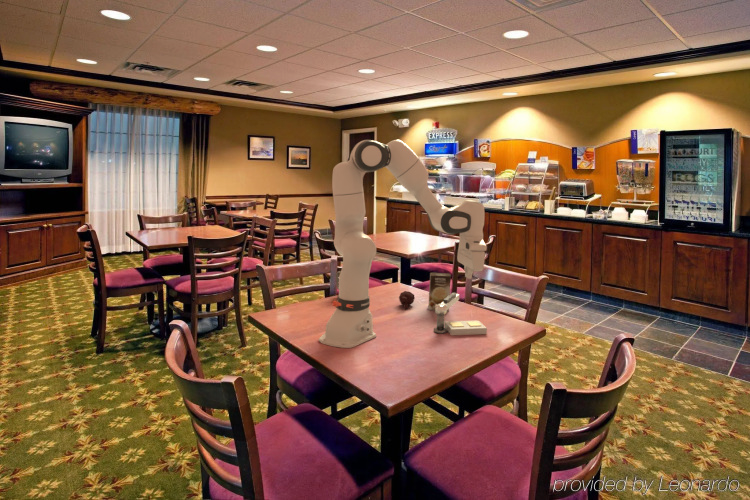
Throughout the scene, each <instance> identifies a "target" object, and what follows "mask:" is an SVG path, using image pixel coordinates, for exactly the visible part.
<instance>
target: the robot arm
mask: <svg viewBox="0 0 750 500" xmlns="http://www.w3.org/2000/svg"><path fill="white" fill-rule="evenodd" d="M383 168H385V169H387V171H388V172H390V173H391V175H392V176H393V177H394V178H395V179H396V181H397V182H398V183H399V184H400V185H402V187H403V188H404V189H405V190H406V191H408V192H409V193H410V194H412V196H413V197H414V198H415V199H416V201H417V203H419V205H420V206H421V207H422V208H423V210H424V211H425V213H426V214H427V218H428V221H429V224H430V226H431V228H432V229H433V230H434V231H436V232H440V233H444V234H447V235H456V234H459V238H458V239H459V241H458V249H457V256H456V257H457V258H456V260H457V262H458V263H460V264H462V265H463V266H464V267H463V268H464V269H463V270H464V278H466V279H468V280H472V278H473V274H474V272H482V271H483V270H484V267H485V261H486V260H485V258H486V251H487V249H488V246H487V244H486V242H485V241H484V231H483V229H484V226H485V214H486V213H485V206H484V204H483V203H482V202H480V201H477V200H472V199H464V200H462V202H461V203H459V204H457V205H455V206H451V207H447V206H444V205H443V204H442V203H441V202H439V200H438V199H437V198H436V196H435V195H434V193H433V192H432V191H431V189H430V188H429V185H428V180H429V171H428V169H427V168H426V166H425V164H424V163H423V161H422V160H421V159H420V157H419V156H418V155H417V154H416V153H415V152H414V150H413V149H412V148H410V146H409V145H407V143H405V142H403V141H402V140H401V139H393V140H391V141H389V142H388V143H386V144H385V143H381V142H379V141H377V140H373V139H372V140H371V139H364V140H361V141H359V142H358V143H356V144H355V145H354V146H353V148H352V149H351V151H350V155H348V159H347V161H342V162H339V163H337V164H335V166H334V167H333V170H332V176H331V177H332V178H331V179H332V180H331V182H332V183H331V184H332V185H331V186H332V200H333V206H334V207H333V208H334V216H335V221H334V222H335V223H334V224H335V225H334V239H333V245H334V248H335V251H336V252H337V253H338V255H340V256H342V265H341V266H342V267H341V270H340V272H341V274H340V275H339V274H338V278H339V290H338V296H337V300H333V301H332V306H333V307H336V308H335V310H334V312H333V313H332V314H331V316H330V318H329V319H328V321H327V322H326V324H325V332H324V333H323V334H322V335H321V336H320V337H319V338H318V342H320V343H321V344H323V345H326V346H331V347H335V348H342V349H350V348H351V349H352V348H354V347H357V346H358V345H361V344H363V343H365V342H368V341H370V340H371V339H374V338H376V337H377V333H376V332H374V323H373V322H374V321H373V314H372V312H371V310H370V303H371V299H370V295H369V292H370V291H369V284H370V283H369V281H370V280H369V279H370V272H371V267H372V262H373V260H374V259H375V257H376V255H377V245H376V243H375V242H374V241H373V239H372V238H371V236H369V235H367V234H365V233H364V221H365V217H366V214H367V213H366V211H367V210H366V202H365V193H364V185H363V184H364V183H363V182H364V181H363V180H364V176H365V174H366V173H371V172H372V173H373V172H377V171H379V170H380V169H383Z"/></svg>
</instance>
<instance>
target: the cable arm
mask: <svg viewBox="0 0 750 500" xmlns="http://www.w3.org/2000/svg"><path fill="white" fill-rule="evenodd" d="M459 300H460V294H459V293H457V292H452V293H451V292H450V295H449V296H447V297H446V298H445V299H444V300H443V302H442V303H441V304H436V305H435V310H434V313H435V314H436V315H437V314H446V315H447V313H448V311H447V310H448V309H449V310H450V308H451V307H453V306H454V305H455V304H456V303H457V302H458V301H459Z"/></svg>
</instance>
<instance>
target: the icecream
mask: <svg viewBox="0 0 750 500" xmlns="http://www.w3.org/2000/svg"><path fill="white" fill-rule="evenodd" d="M415 299H416V298H415V294H414V293H412V292H411V291H408V290H407V291H406V290H404V291H403V292H401V293H400V294H399V296H398V300H399V303H400V304H401V305H403V306H404V307H403V308H404V310H407V309H408V308H409V306H411V305H412V304H413V303H414V302H415Z"/></svg>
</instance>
